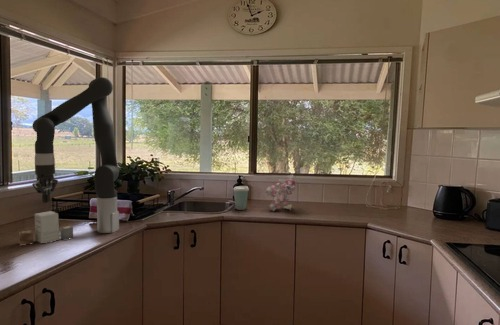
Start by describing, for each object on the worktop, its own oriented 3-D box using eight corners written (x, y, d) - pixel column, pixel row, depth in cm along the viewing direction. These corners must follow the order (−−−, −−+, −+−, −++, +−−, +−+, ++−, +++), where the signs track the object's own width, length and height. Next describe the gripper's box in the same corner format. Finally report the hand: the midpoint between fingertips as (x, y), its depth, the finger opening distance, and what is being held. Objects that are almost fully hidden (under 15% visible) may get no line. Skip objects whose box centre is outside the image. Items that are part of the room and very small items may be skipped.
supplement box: (52, 237, 155) (52, 210, 154) (59, 240, 150) (58, 213, 149) (34, 241, 149) (34, 213, 148) (41, 244, 144) (40, 216, 143)
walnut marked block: (32, 241, 149) (32, 229, 149) (33, 244, 145) (33, 232, 145) (19, 243, 146) (18, 231, 146) (19, 246, 142) (19, 234, 142)
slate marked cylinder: (75, 237, 156) (75, 226, 155) (68, 240, 151) (68, 229, 150) (65, 236, 157) (65, 225, 156) (58, 239, 152) (58, 228, 151)
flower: (263, 202, 238) (262, 173, 225) (294, 199, 239) (295, 170, 226) (266, 221, 221) (265, 190, 208) (300, 217, 222) (301, 187, 209)
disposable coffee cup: (239, 211, 216) (240, 188, 214) (229, 208, 223) (229, 186, 222) (251, 209, 223) (252, 187, 221) (241, 206, 231) (241, 184, 229)
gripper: (41, 165, 139) (42, 205, 141) (63, 162, 153) (64, 199, 154) (25, 164, 140) (26, 205, 142) (48, 162, 154) (49, 199, 155)
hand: (46, 202), depth 148 cm, fingers closed
